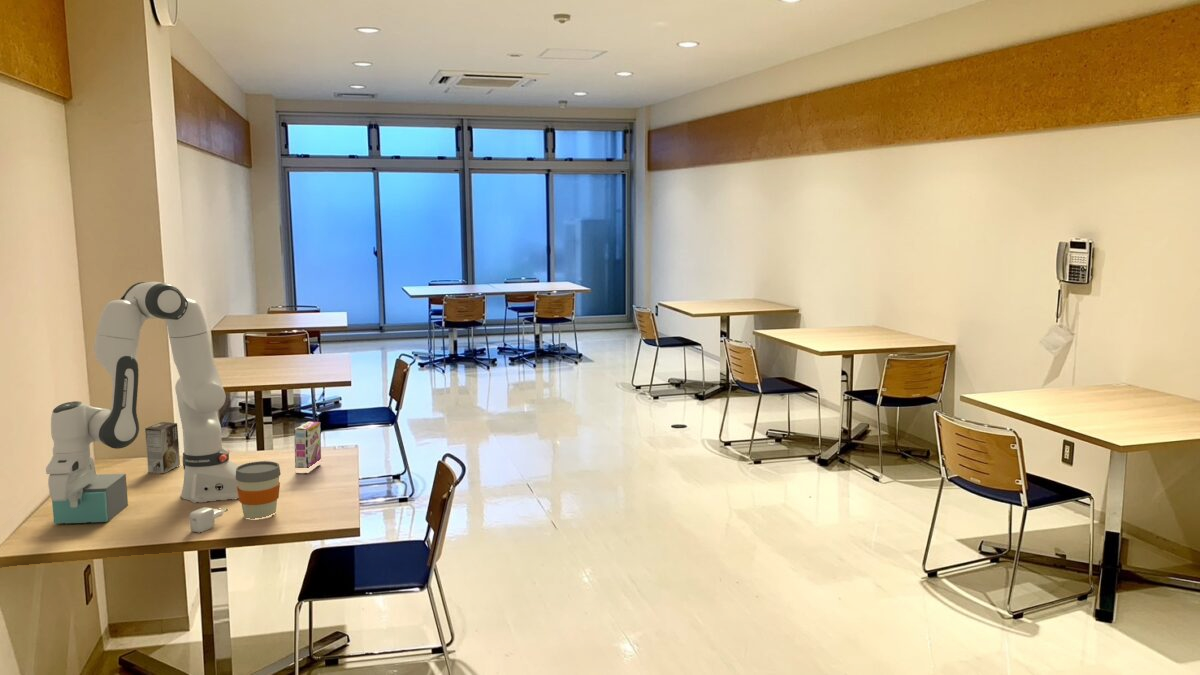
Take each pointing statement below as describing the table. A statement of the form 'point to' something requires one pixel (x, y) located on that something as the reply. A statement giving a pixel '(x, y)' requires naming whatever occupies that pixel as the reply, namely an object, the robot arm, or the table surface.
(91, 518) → the teal drawer
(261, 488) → the reusable coffee cup
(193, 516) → the power adapter
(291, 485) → the table surface
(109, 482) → the gray drawer box
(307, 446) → the candy bar box
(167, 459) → the coffee box
